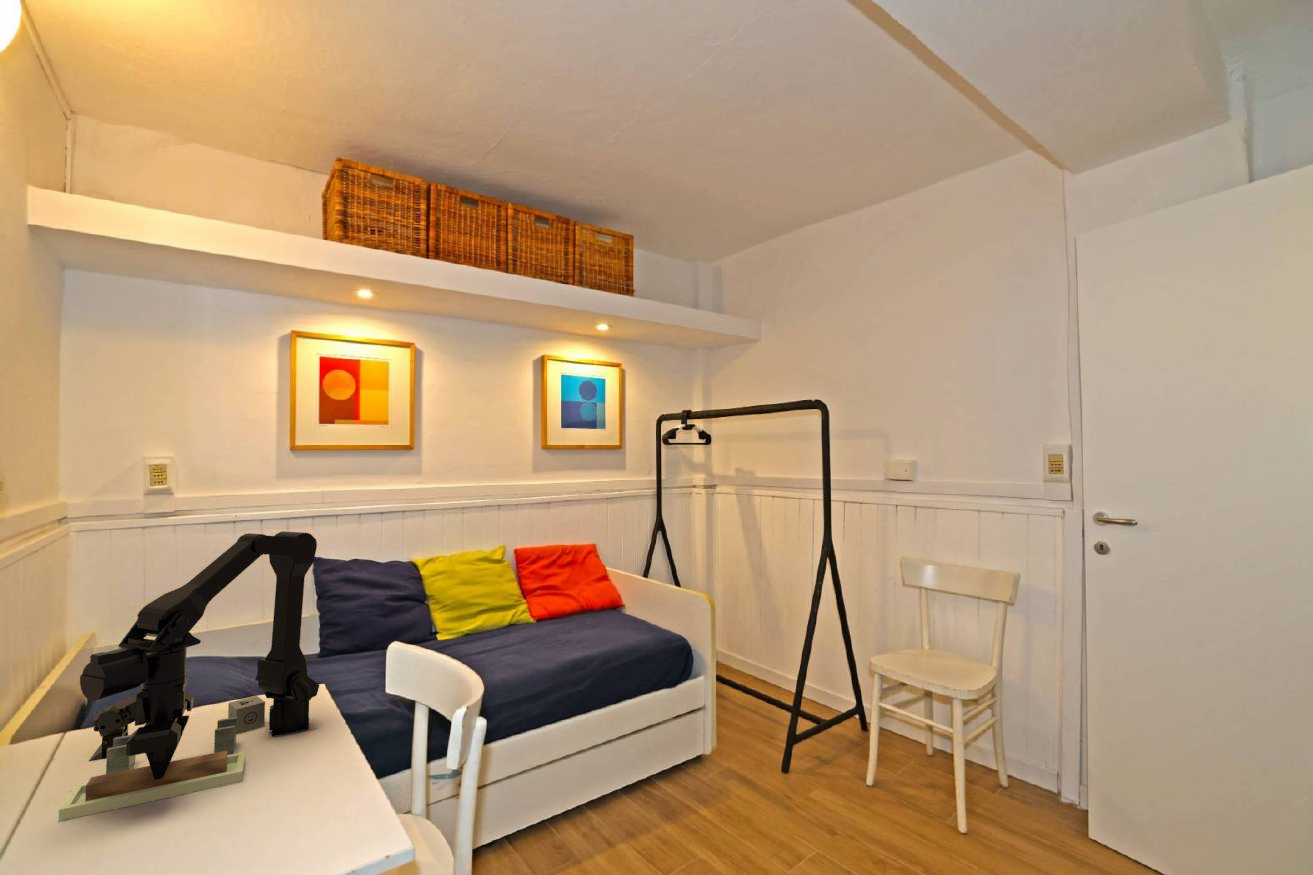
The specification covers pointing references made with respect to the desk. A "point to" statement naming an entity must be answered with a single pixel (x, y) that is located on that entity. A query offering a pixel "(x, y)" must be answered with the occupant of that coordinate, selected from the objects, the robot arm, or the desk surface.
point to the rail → (144, 777)
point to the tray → (150, 791)
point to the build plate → (108, 743)
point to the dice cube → (248, 713)
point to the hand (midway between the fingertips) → (161, 772)
